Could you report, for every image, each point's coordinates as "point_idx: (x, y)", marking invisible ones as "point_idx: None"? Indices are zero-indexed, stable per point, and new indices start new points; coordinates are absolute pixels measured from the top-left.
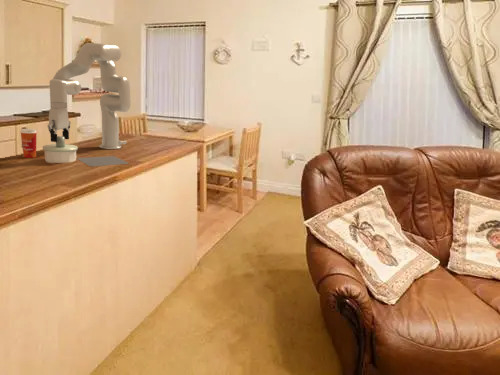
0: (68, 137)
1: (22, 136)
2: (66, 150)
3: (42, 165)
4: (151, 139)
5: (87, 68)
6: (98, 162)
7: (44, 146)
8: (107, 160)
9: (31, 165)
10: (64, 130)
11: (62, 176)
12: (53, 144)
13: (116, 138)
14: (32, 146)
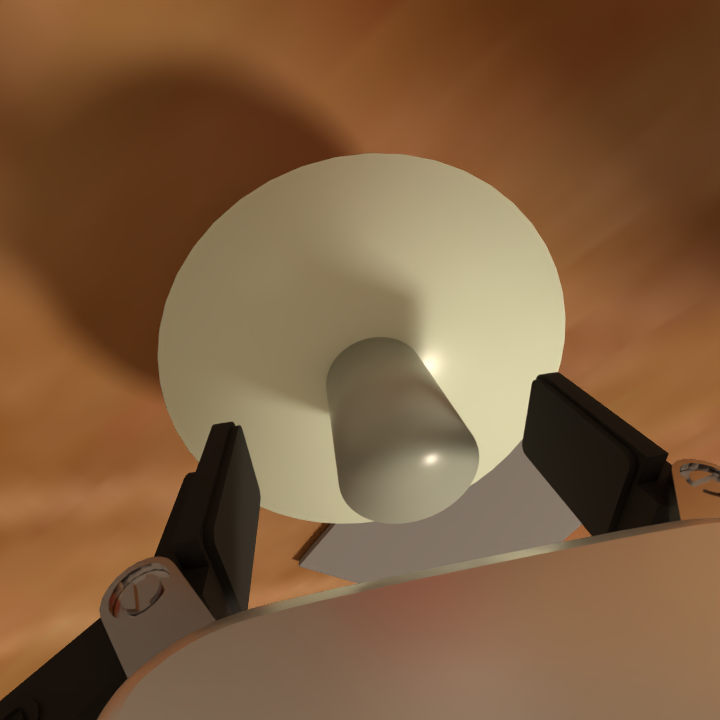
0: (544, 469)
1: None
2: (282, 508)
3: (104, 334)
4: None
5: None
6: (416, 533)
7: (261, 216)
8: (491, 530)
9: (16, 261)
10: (645, 511)
11: (12, 601)
12: (476, 202)
13: None
14: None
